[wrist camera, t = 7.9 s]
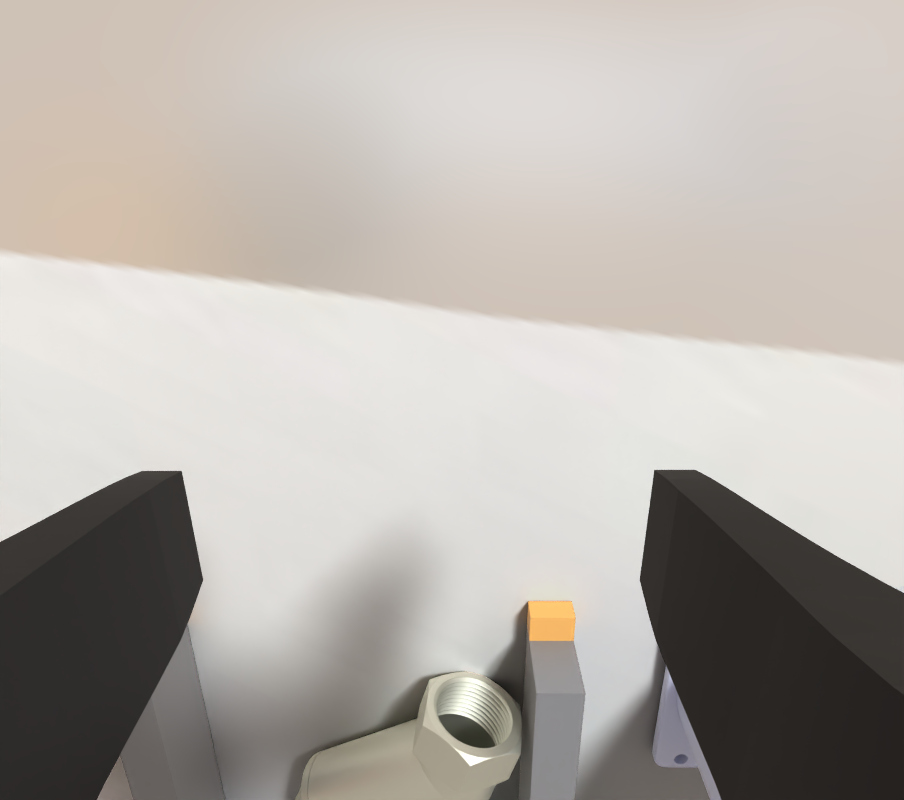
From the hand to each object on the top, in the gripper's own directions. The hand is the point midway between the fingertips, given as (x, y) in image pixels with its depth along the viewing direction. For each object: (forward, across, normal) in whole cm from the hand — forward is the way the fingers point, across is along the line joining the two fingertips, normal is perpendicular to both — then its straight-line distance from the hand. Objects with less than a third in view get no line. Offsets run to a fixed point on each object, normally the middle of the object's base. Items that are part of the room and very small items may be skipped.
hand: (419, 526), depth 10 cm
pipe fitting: (+10, +2, +16) cm, 19 cm away
